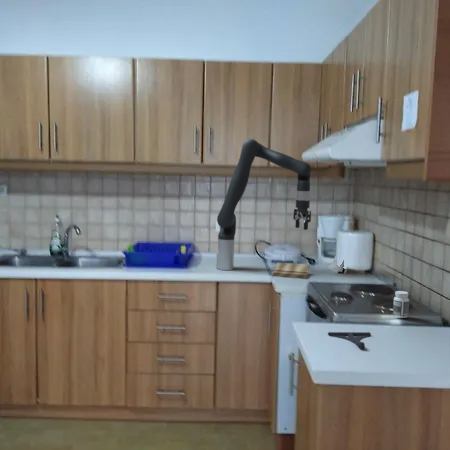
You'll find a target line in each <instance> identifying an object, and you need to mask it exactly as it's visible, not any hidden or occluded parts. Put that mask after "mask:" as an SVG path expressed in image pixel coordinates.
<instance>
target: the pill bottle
mask: <svg viewBox="0 0 450 450" xmlns="http://www.w3.org/2000/svg"><path fill="white" fill-rule="evenodd" d="M394 293H395V294H394V295H395V296H394V298H393V303H392V304H393V306H392V315H393V314H395V315H403V316H405V315H408V314H410V313H409V311H410V309H409V308H410V299H409V298H408V297H409V292H408V291H403V290H396V291H395V292H394ZM408 316H409V315H408Z"/></svg>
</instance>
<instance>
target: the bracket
mask: <svg viewBox="0 0 450 450" xmlns="http://www.w3.org/2000/svg"><path fill="white" fill-rule="evenodd" d="M327 335H328V336H329V337H332V338H339V339H343V340H347V341H349V342H351V343H354V345H356V347H357V348H358V349H359V350H360V351H365V350H366V345H365V342H363V341H360V340H362V339H366V338H369V337H371V336H372V334H371V332H370V331H367V332H366V331H365V332H363V331H360V332H357V331H355V332H354V331H353V332H351V331H350V332H349V331H348V332H347V331H345V332H343V331H342V332H339V331H337V332H336V331H334V332H333V331H328V332H327Z"/></svg>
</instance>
